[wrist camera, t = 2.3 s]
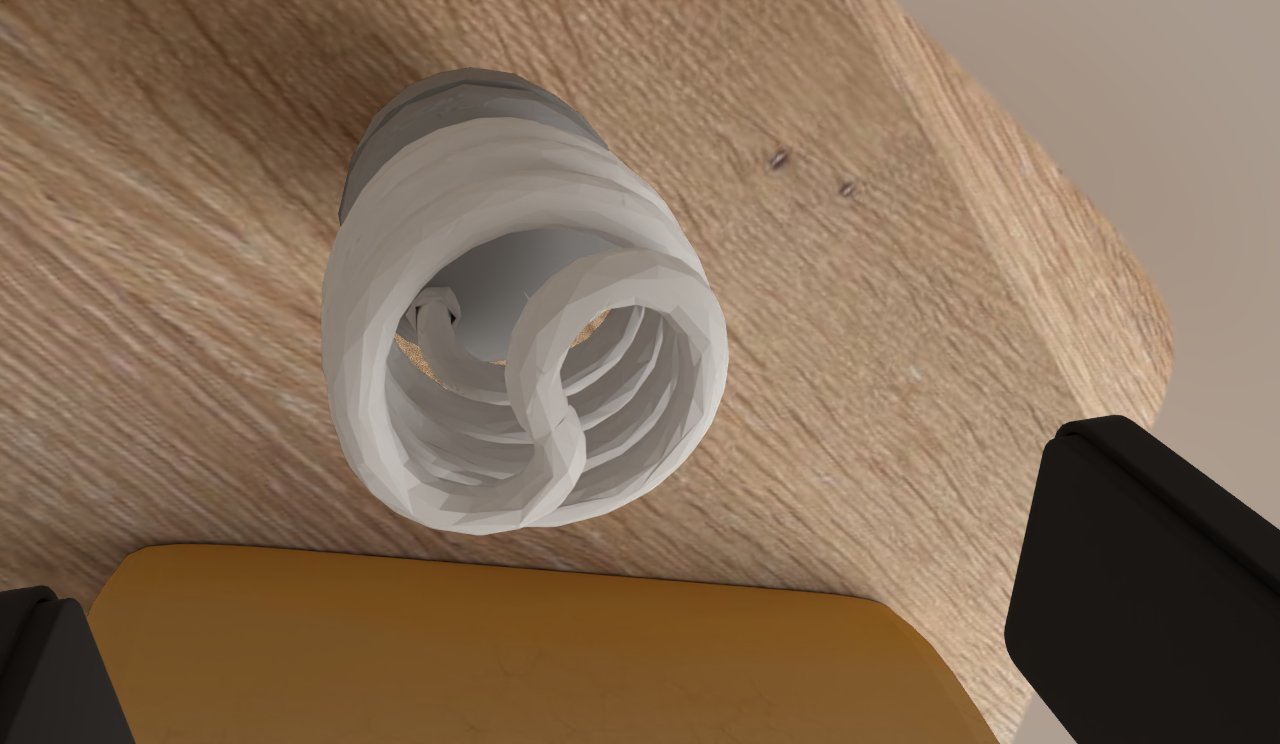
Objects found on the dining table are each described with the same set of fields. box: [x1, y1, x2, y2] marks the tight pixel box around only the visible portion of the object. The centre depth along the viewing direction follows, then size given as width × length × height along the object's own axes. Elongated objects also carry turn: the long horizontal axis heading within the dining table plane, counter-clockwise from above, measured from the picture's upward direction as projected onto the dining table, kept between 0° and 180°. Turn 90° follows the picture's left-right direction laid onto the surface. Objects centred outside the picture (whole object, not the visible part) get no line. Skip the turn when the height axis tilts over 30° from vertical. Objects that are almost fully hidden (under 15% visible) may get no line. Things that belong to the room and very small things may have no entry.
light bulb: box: [321, 67, 729, 536], centre depth 17 cm, size 6×6×12 cm
